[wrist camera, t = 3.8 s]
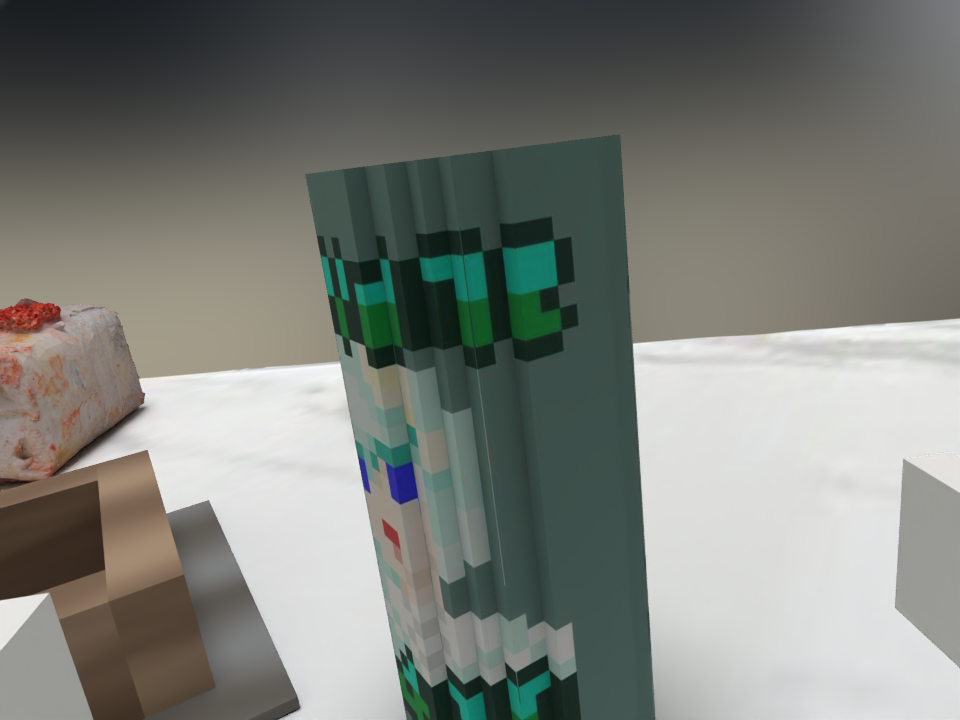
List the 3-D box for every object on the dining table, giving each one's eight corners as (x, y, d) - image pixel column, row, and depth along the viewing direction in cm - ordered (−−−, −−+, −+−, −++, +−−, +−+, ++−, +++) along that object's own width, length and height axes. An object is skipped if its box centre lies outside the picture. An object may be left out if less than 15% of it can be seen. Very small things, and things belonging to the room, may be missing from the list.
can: (384, 722, 20) (276, 177, 15) (554, 628, 23) (503, 149, 18) (503, 900, 15) (392, 162, 10) (702, 750, 18) (680, 126, 13)
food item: (54, 490, 39) (-2, 320, 36) (-85, 507, 39) (-151, 338, 36) (159, 405, 52) (124, 276, 49) (54, 418, 52) (14, 289, 49)
